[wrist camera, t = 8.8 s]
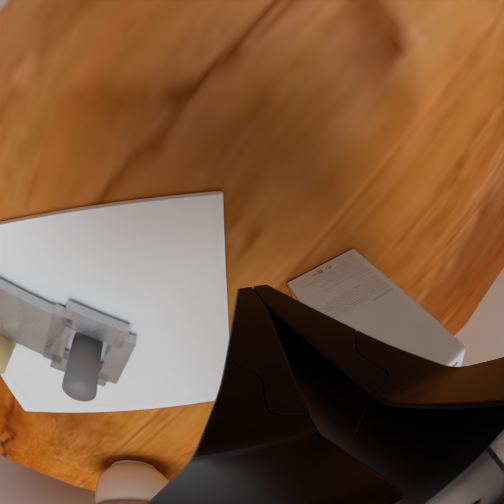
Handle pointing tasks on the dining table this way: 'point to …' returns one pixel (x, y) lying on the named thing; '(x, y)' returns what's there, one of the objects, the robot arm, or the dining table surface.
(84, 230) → the jig
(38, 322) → the arm
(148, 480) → the lidded jar
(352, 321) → the small box
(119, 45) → the dining table surface
